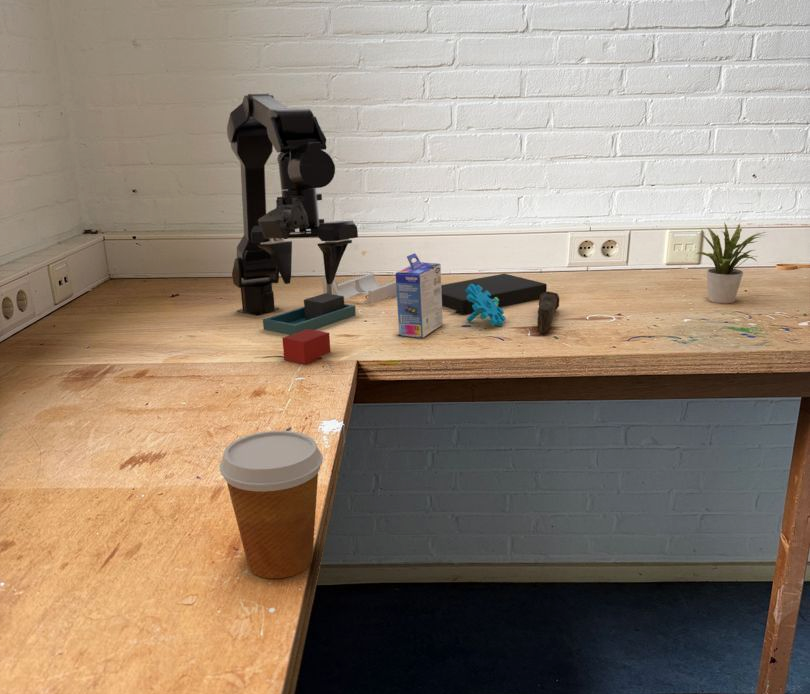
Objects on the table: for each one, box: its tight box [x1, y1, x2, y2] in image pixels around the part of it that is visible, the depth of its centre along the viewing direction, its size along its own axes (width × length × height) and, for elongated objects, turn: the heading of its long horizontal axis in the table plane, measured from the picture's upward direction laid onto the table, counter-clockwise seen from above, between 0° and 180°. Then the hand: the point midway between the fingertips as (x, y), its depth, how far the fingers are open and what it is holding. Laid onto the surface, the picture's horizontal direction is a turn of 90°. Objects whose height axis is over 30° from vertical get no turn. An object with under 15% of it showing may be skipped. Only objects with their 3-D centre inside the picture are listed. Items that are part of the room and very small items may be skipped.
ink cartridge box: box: [395, 252, 444, 339], centre depth 150 cm, size 10×6×14 cm, turn 155°
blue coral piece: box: [465, 284, 507, 327], centre depth 156 cm, size 11×6×10 cm
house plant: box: [695, 221, 766, 304], centre depth 164 cm, size 14×14×16 cm
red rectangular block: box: [281, 329, 331, 365], centre depth 138 cm, size 5×6×4 cm
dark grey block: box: [303, 293, 345, 320], centre depth 161 cm, size 5×6×4 cm
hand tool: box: [537, 290, 560, 334], centre depth 155 cm, size 19×4×5 cm, turn 164°
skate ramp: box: [321, 271, 397, 305], centre depth 180 cm, size 15×13×5 cm
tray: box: [262, 303, 357, 336], centre depth 158 cm, size 9×18×2 cm, turn 144°
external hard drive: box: [441, 273, 548, 316], centre depth 174 cm, size 14×23×3 cm, turn 124°
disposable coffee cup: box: [219, 430, 324, 579], centre depth 76 cm, size 10×10×12 cm
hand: (308, 283), depth 135 cm, fingers open, 9 cm apart
